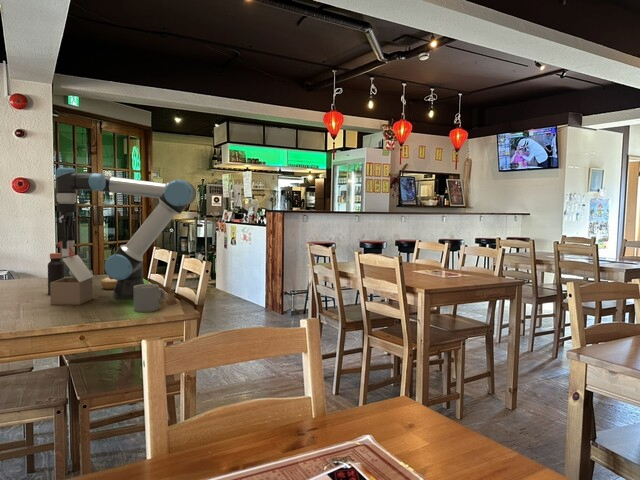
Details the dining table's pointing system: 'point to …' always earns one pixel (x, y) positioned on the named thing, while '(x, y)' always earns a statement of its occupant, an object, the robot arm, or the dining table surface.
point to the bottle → (55, 269)
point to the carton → (70, 291)
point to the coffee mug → (147, 297)
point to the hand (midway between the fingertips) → (67, 255)
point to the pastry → (108, 283)
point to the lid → (76, 265)
